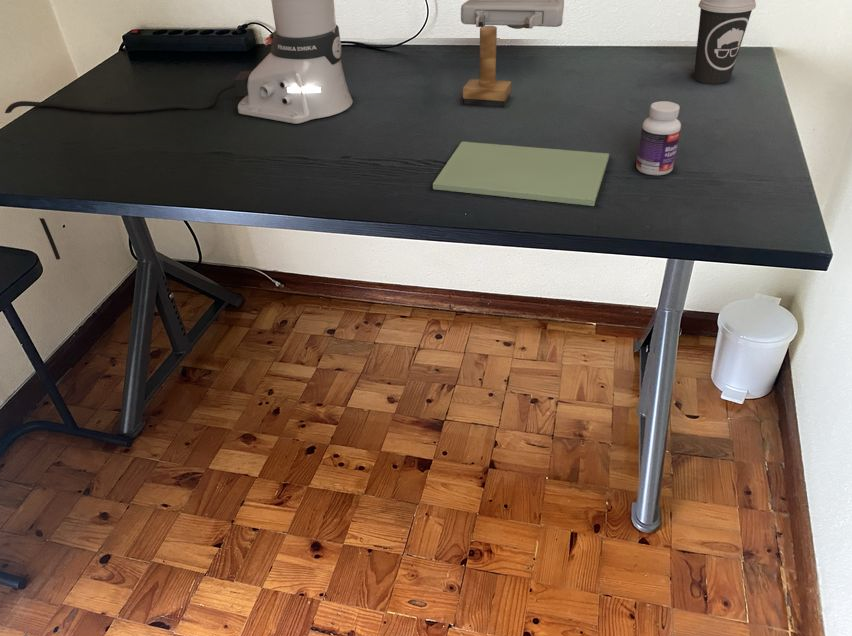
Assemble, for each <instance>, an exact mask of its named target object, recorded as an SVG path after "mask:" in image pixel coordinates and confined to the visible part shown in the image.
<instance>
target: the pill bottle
mask: <svg viewBox="0 0 852 636" xmlns="http://www.w3.org/2000/svg"><path fill="white" fill-rule="evenodd" d="M680 108H681V107H680V105H679V104H678V103H676V102H672V101H667V100H661V101H655V102H652V103H651V104H650V106H649V112H648V115H649V117H647V118H646V119H644V120H643V122H642V125H641V131H640V132H641V133H640V138H639V145H638V151H637V156H636V158H637V159H636V164H635V165H636V166H635V167H636V169H637V171H639V172H640V173H642V174H645V175H648V176H664V175H668V174H670V173H671V172H672V171H673V169H674V165H675V160H676V155H677V150H678V145H679V138H680V135H681V129H682V124H681V121H680V120H679V119H678V116H679V114H680Z"/></svg>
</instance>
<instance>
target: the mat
mask: <svg viewBox="0 0 852 636" xmlns="http://www.w3.org/2000/svg"><path fill="white" fill-rule="evenodd" d="M609 160H610V153H609V152H608V153H607V152H594V151H582V150H570V149H559V148H558V149H557V148H548V147H547V148H546V147H534V146H533V147H532V146H524V145H523V146H522V145H510V144H499V143H497V144H496V143H484V142H474V141H472V142H471V141H461V142H460V143H459V144H458V146H457V147H456V149H455V151H454V152H453V153H452V155H451V156H450V158H449V159H448V161H447V162H446V164H445V165H444V167H443V168H442V169H441V171H440V172H439V173H438V175H437V177H436V178H435V180H434V181H433V182H432V190H434V191H435V190H437V191H445V192H453V193H454V192H455V193H465V194H475V195H484V196H493V197H503V198H511V199H512V198H513V199H521V200H522V199H524V200H531V201H540V202H551V203H561V204H569V205H580V206H587V207H588V206H589V207H594V206H595V204H596V202H597V201H596V200H597V198H598V194H599V191H600V188H601V184H602V182H603V179H604V175H605V172H606V170H607V166H608V163H609Z"/></svg>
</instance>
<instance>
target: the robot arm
mask: <svg viewBox="0 0 852 636" xmlns="http://www.w3.org/2000/svg"><path fill="white" fill-rule="evenodd" d="M564 7H565V0H466V1H465V2H464V3H462V4H461V6H460V22H461V23H462V24H463V25H475V27H476V28H481V27H483V26H506V27H508V28H511V29H514V30H520V29H531V30H532V29H533V28H534V27H547V28H548V27H549V28H550V27H551V28H559V27H561V26H562V25H563V20H564V12H565V11H564V10H565V9H564ZM271 9H272V15H273V21H274V27H275V30H274V31H273V32H271V33H270V34H269V35H268V37H267V38H264V41H266V42H265V44H264V46H268V45H270V50H269V51H270V52H269V53H268V54H267V55H266V56H265V58H263V59H262V61H260V63H258V64H257V65H256V67H254V68H253V70H245V71H244V70H243V71H240V72H239V73H238V74H237V76H236V77H234V79H233V81H231V82H229V83H226V84H224V85H222V86H220V87H219V88H218V89H217V90H216V91H215V92H214V94H213V96H212V98H211V100H210V101H209V102H207V103H204V104H203V103H202V104H191V103H181V102H180V103H165V104H156V105H148V106H147V105H145V106H133V107H104V106H103V107H102V106H90V105H81V104H71V103H64V102H63V103H62V102H54V101H30V100H29V101H28V100H21V101H16V102H13V103H11V104H9V105H8V106H7V108H6V109H5V111H4V113H5V114H10V113H12V111H14V110H15V109H16V108H18V107H19V108H21V107H33V108H58V109H65V110H71V111H81V112H90V113H105V114H106V113H107V114H127V113H128V114H129V113H146V112H154V111H164V110H175V109H177V110H178V109H179V110H181V109H182V110H207V109H211V108H213V107H214V106H215V105H216V104H217V102H218V100H219V97H220V96H221V95H222V94H223V93H225V92H226V91H228V90H231V89H234V88H235V93H236V96H237V97H243V98H242V99H241V100H240V101H239V103H238V104H237V113H238V114H240V115H244V116H251V117H255V118H262V119H266V120H273V121H278V122H283V123H289V124H297V125H298V124H303V123H306V122H308V121H311V120H316V119H317V120H318V119H321V118H327V117H332V116H334V115H337V114H341V113H343V112H345V111H347V110H348V109H350V107H351V106H352V105H353V102H354V100H353V98H352V95H351V93H350V90H349V87H348V84H347V81H346V78H345V77H346V76H345V72H344V68H343V64H342V57H343V56H342V41H341V35H340V27H339V26H338V24H337V20H336V10H335V0H271ZM45 219H46V218H42V217H39V222H40V224H41V225H42V228H43V230H44V233H45V235H46V237H47V240H48V243H49V245H50V247H51V250H52V253H53V254H54V257H55V259H56V260H57V261H58V260H60V259H61V256H60V254H59V251H58V248H57V245H56V244H55V241H54V238H53V236H52V234H51V231H50V228H49V226H48V225H47V222H46V220H45Z"/></svg>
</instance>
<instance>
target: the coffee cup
mask: <svg viewBox="0 0 852 636" xmlns="http://www.w3.org/2000/svg"><path fill="white" fill-rule="evenodd" d="M698 7H699V8H700V12H699V22H698V30H697V31H698V32H697V40H696V50H695V61H694V69H693V80H694V81H696V82H698V83H702V84H707V85H721V84H726V83H728V82H729V81H730V80H731V77H732V74H733V72H734V68H735V65H736V62H737V58H738V56H739V52H740V48H741V47H742V42H743V39H744V36H745V33H746V30H747V27H748V24H749V21H750V17H751V14H752V11H753V10H755V9H756V7H757V2H756V0H699V3H698Z"/></svg>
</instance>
